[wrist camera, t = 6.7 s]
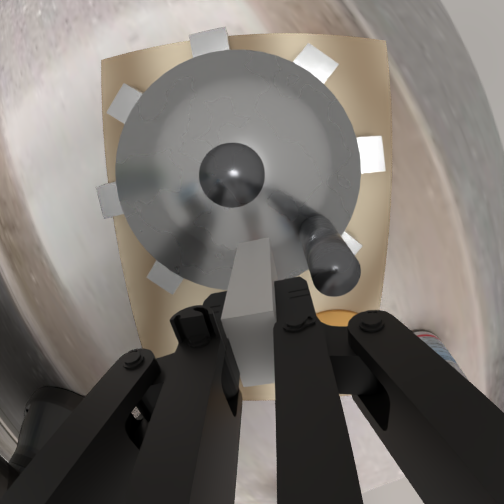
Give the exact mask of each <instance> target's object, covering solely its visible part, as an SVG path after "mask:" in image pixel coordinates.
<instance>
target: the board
mask: <svg viewBox="0 0 504 504" xmlns="http://www.w3.org/2000/svg"><path fill="white" fill-rule="evenodd" d="M228 37H229V42H230V47H231V50H253V51H261V52H265V53H269V54H273V55H276V56H279V57H282V58H284V59H287V60H289V61H291V62H293V61H294V60H295V59H296V57H297V56H298V55H299V54H300V52H301V51H302V50H303V49H304V48H305V46H306V45H307V44H308V43H309V44H311V45H312V46H314V47H315V48H317V49H318V50H320V51H321V52H323V53H324V54H325V55H327V56H328V57H330V58H331V59H332V60H334V61H335V62H336V63H338V64H339V65H338V66H337V68H336V69H335V70H334V71H333V73H332V74H331V75H330V76H329V78H328V79H327V80H326V82H325V83H324V85H325V86H326V87H327V88H328V89H329V90H330V91H331V92H332V93H333V94H334V95H335V97H336V98H337V100H338V101H339V102H340V104H341V105H342V107H343V108H344V110H345V112H346V114H347V116H348V118H349V120H350V122H351V124H352V126H353V129H354V132H355V135H356V137H362V136H382V143H383V152H384V161H385V171H382V172H372V173H363V174H361V180H360V190H359V194H358V199H357V203H356V206H355V209H354V212H353V214H352V217H351V220H350V221H349V223H348V225H347V227H346V229H345V230H346V231H348V232H349V233H350V234H351V235H353V236H354V237H355V238H356V239H357V240H358V241H359V242H360V243H361V244H362V247H361V249H360V250H359V251H358V252H357V254H356V255H355V257H356V258H357V260H358V261H359V264H360V267H361V276H360V279H359V281H358V283H357V285H356V286H355V287H354V288H353V289H352V290H351V291H350V292H348V293H347V294H345V295H342V296H338V297H330V296H326V295H324V294H322V293H320V292H319V291H318V290H317V289H316V288H315V286H314V284H313V281H312V278H311V275H310V271H309V269H308V270H307V271H305V272H303V273H302V274H300V275H299V276H300V277H302V278H303V279H304V280H306V281H307V284H308V287H309V291H310V295H311V298H312V301H313V305H314V309H315V312H316V313H319V312H322V311H327V310H349V311H353V312H356V313H360V312H364V311H368V310H379V308H380V301H381V295H382V288H383V280H384V272H385V264H386V255H387V245H388V234H389V222H390V207H391V186H392V113H391V93H390V79H389V67H388V57H387V48H386V41H383V40H376V39H368V38H360V37H350V36H339V35H324V34H294V33H280V34H250V35H235V36H228ZM191 58H193V55H192V50H191V44H190V41H184V42H178V43H172V44H167V45H162V46H157V47H152V48H147V49H142V50H138V51H134V52H130V53H126V54H122V55H118V56H114V57H111V58H107V59H104V60H101V88H102V116H103V132H104V145H105V157H106V167H107V176H108V183H111V182H114V181H116V174H115V165H116V153H117V148H118V143H119V139H120V135H121V132H122V130H123V127H124V124H123V123H122V122H120V121H119V120H117V119H115V118H114V117H112V116H111V115H109V114H107V113H106V112H107V111H108V109H109V107H110V105H111V104H112V102H113V100H114V98H115V97H116V95H117V93H118V92H119V90H120V88H121V87H122V85H123V83H125V84H128V85H131V86H134V87H135V88H137V89H139V90H141V91H142V92H145V91H146V90H147V89H148V88H149V87H150V85H151V84H152V83H154V82H155V81H156V80H157V79H158V78H159V77H161V76H162V75H163V74H164V73H166V72H167V71H169V70H170V69H172V68H174V67H175V66H177V65H178V64H180V63H183V62H185V61H187V60H189V59H191ZM113 219H114V226H115V232H116V237H117V243H118V248H119V254H120V259H121V264H122V268H123V273H124V278H125V282H126V287H127V291H128V295H129V300H130V304H131V308H132V312H133V316H134V320H135V323H136V327H137V331H138V334H139V338H140V342H141V345H142V349H143V348H145V349H149V350H151V351H152V352H153V353H154V356H155V358H159V357H163V356H166V355H169V354H172V353H174V352H175V351H176V349H177V346H178V340H177V338H176V336H175V333H174V331H173V328H172V326H171V323H170V321H169V320H170V319H171V317H172V316H173V315H174V314H176V313H177V312H178V311H180V310H182V309H185V308H187V307H191V306H195V305H203V302H204V300H205V299H206V298H207V297H208V296H209V295H210V294H212V293H218V292H224V291H227V290H221V289H215V288H210V287H206V286H203V285H199V284H196V283H194V282H191V281H189V280H187V279H183V280H182V282H181V283H180V285H179V287H178V288H177V290H176V291H175V293H174V294H173V295H172V294H170V293H169V292H167V291H166V290H164V289H163V288H161V287H160V286H158V285H157V284H155V283H154V282H152V281H151V280H149V279H148V278H146V277H147V276H148V274H149V272H150V270H151V269H152V267H153V265H154V263H155V262H156V259H155V258H154V257H153V256H152V255H151V254H150V253H149V252H148V251H147V250H146V249H145V248H144V247H143V245H142V244H141V243H140V242H139V240H138V239H137V238H136V236H135V234H134V233H133V231H132V230H131V228H130V226H129V224H128V222H127V220H126V218H125V216H124V214H122V215H118V216H114V217H113ZM297 277H298V276H297ZM239 388H240V391H241V393H242V398H243V400H247V401H257V400H275V383H271V384H264V385H257V386H249V387H243V384H242V381H241V378H240V380H239ZM348 395H349V394H339V396H348Z"/></svg>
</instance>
